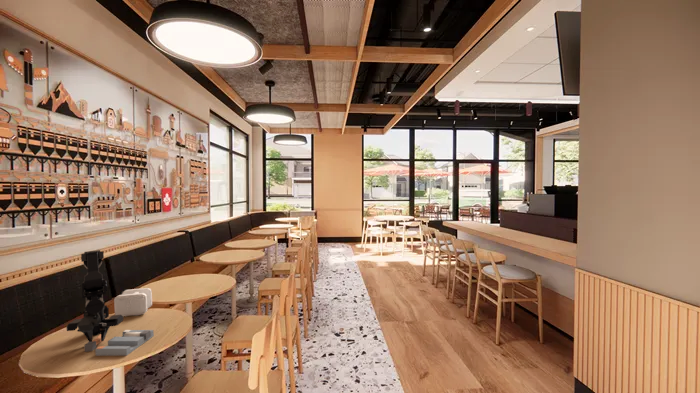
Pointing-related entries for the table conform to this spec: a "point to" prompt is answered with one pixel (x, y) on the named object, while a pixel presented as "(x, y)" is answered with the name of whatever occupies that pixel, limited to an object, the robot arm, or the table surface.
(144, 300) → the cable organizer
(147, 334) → the white-handled mallet
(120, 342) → the ribbed grooved tray
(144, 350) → the table surface
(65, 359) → the table surface
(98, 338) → the orange-handled mallet
